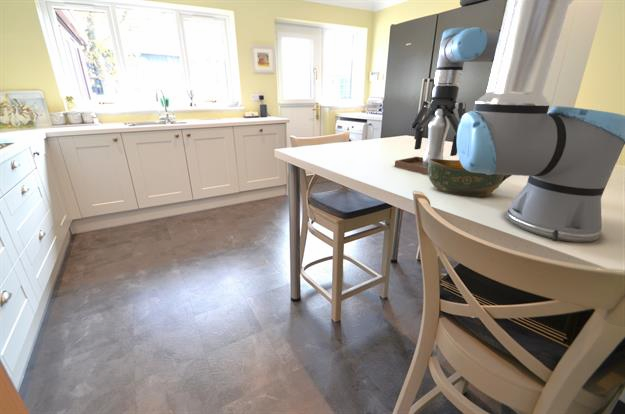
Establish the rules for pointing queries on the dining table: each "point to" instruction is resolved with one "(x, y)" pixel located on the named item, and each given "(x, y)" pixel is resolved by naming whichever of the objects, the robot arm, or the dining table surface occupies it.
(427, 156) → the plastic bottle
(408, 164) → the tray
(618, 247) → the dining table surface
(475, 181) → the green patterned bowl
